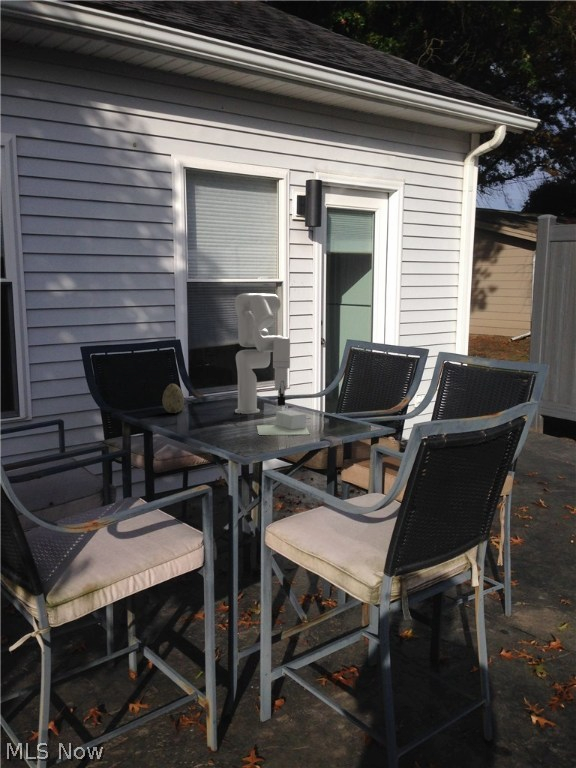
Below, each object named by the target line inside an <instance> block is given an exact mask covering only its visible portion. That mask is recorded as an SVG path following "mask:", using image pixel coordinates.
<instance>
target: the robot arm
mask: <svg viewBox="0 0 576 768" xmlns="http://www.w3.org/2000/svg"><path fill="white" fill-rule="evenodd" d="M281 304H282V303H281V300H280V297H279V296H278V295H277V294H275V293H260V292H258V293H252V292H249V293H246V292H245V293H240V294H237V296H236V297H235V299H234V308H235V313H236V316H237V320H238V321H237V322H238V323H237V328H238V329H237V330H238V331H237V332H238V336H237V337H238V344H239V345H240V346H241V347H245V348H254V347H255V348H256V349H242V350H239V351H238V352H237V353H236V354H235V363H236V370H237V408H236V409H234V412H235V414H240V413H241V414H242V415H251V414H254V415H255V414H258V413H260V412H261V410H260V409H259V408H257V407H258V394H257V393H258V391H257V390H258V389H257V387H258V383H257V382H258V379H257V376H256V373H255V372H254V371H253V369H266V368H268V367H269V365H270V363H271V353H272V368H273V369H274V390H275V391H277V406H279V407H280V406H282V407H283V406H286V396H285V395H286V393H285V392H286V391H287V390H288V369H290V368H291V363H290V362H291V360H290V359H291V339H290V338H289V337H287V336H284V335H272V334H271V335H270V333H269V329H267V328H270V326H272V325H273V324H274V322H275V320H276V319H275V316H274V315H275V314H274V313H273V312H276V313H277V312H278V311H280V309H281ZM241 414H240V415H241Z"/></svg>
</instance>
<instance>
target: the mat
mask: <svg viewBox="0 0 576 768" xmlns="http://www.w3.org/2000/svg"><path fill="white" fill-rule="evenodd" d="M256 431H257V434H259V435H271V436H310V435H311V433H310V431H309V430H308V428H307V427H306V428H301V429H292V430H291V429H288V428H285V427H281V426H278V425H276V424H275V425H274V424H272V425H271V424H269V425H267V424H265V425H256ZM309 434H310V435H309ZM259 435H258V436H259Z"/></svg>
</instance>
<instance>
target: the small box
mask: <svg viewBox="0 0 576 768" xmlns="http://www.w3.org/2000/svg"><path fill="white" fill-rule="evenodd" d="M275 425H278V426H281V427H285V428H288V429H291V430H292V429H301V428H307V414H305V413H303V412H298V411H295V410H291V409H290V410H278V411H275Z"/></svg>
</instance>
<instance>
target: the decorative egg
mask: <svg viewBox="0 0 576 768" xmlns="http://www.w3.org/2000/svg"><path fill="white" fill-rule="evenodd" d="M161 400H162V401H161V402H162V405H163V409H164V410H165V411H166V412H167V413H170V414H172V413H175V414H177V412H178V413H179V412H181V411H182V409H183V408H184V404H185V396H184V393H183V391H182V389H181V387H179V386H178V385H177V384H176V383H169V384H168V385H167V386H166V388H165V390H164V391H163V394H162V399H161Z"/></svg>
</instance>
